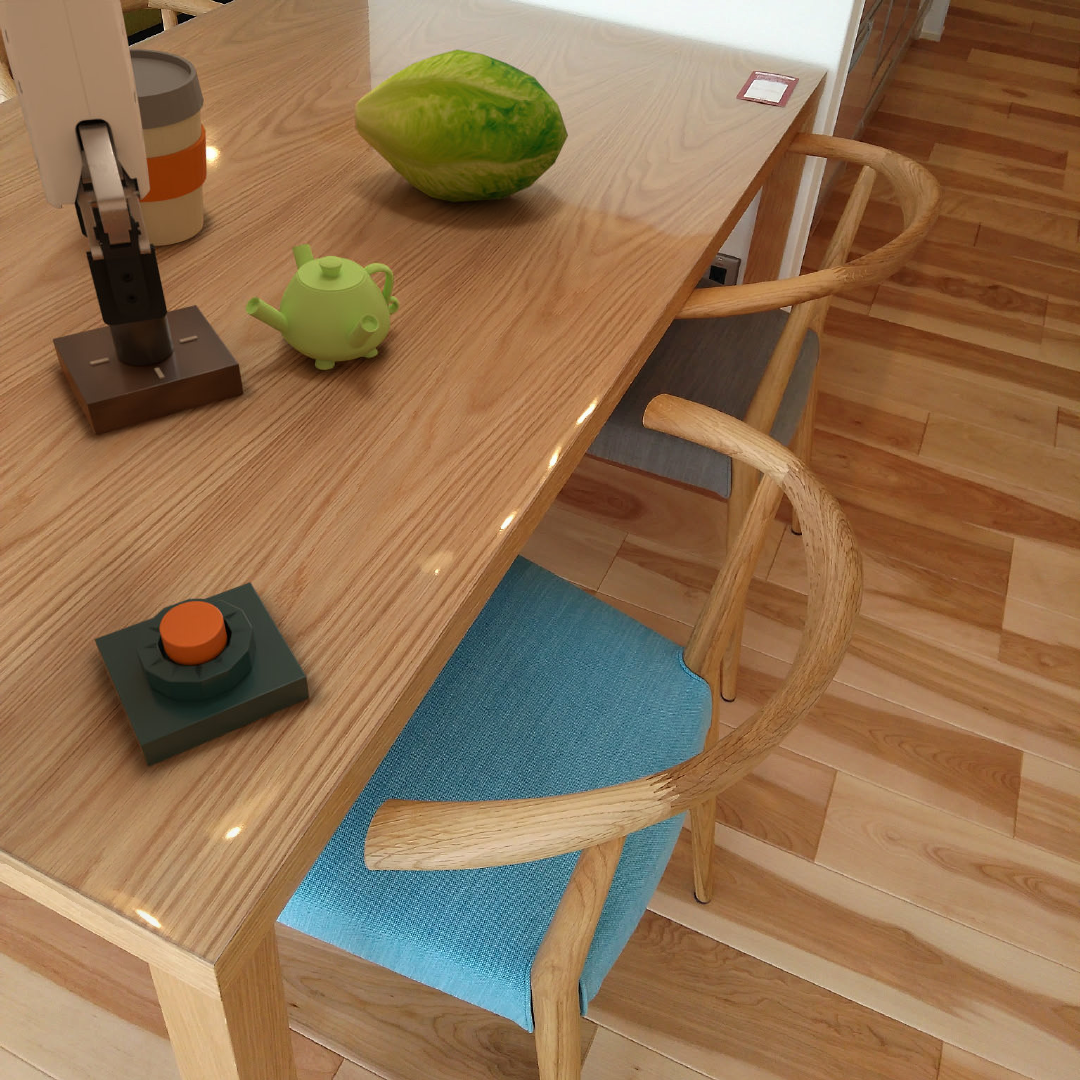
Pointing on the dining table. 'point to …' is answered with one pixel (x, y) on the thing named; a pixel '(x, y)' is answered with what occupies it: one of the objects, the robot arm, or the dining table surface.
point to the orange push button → (193, 633)
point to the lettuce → (463, 126)
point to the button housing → (202, 678)
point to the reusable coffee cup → (171, 145)
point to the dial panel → (148, 373)
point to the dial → (142, 341)
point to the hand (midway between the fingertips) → (123, 273)
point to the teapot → (331, 308)
